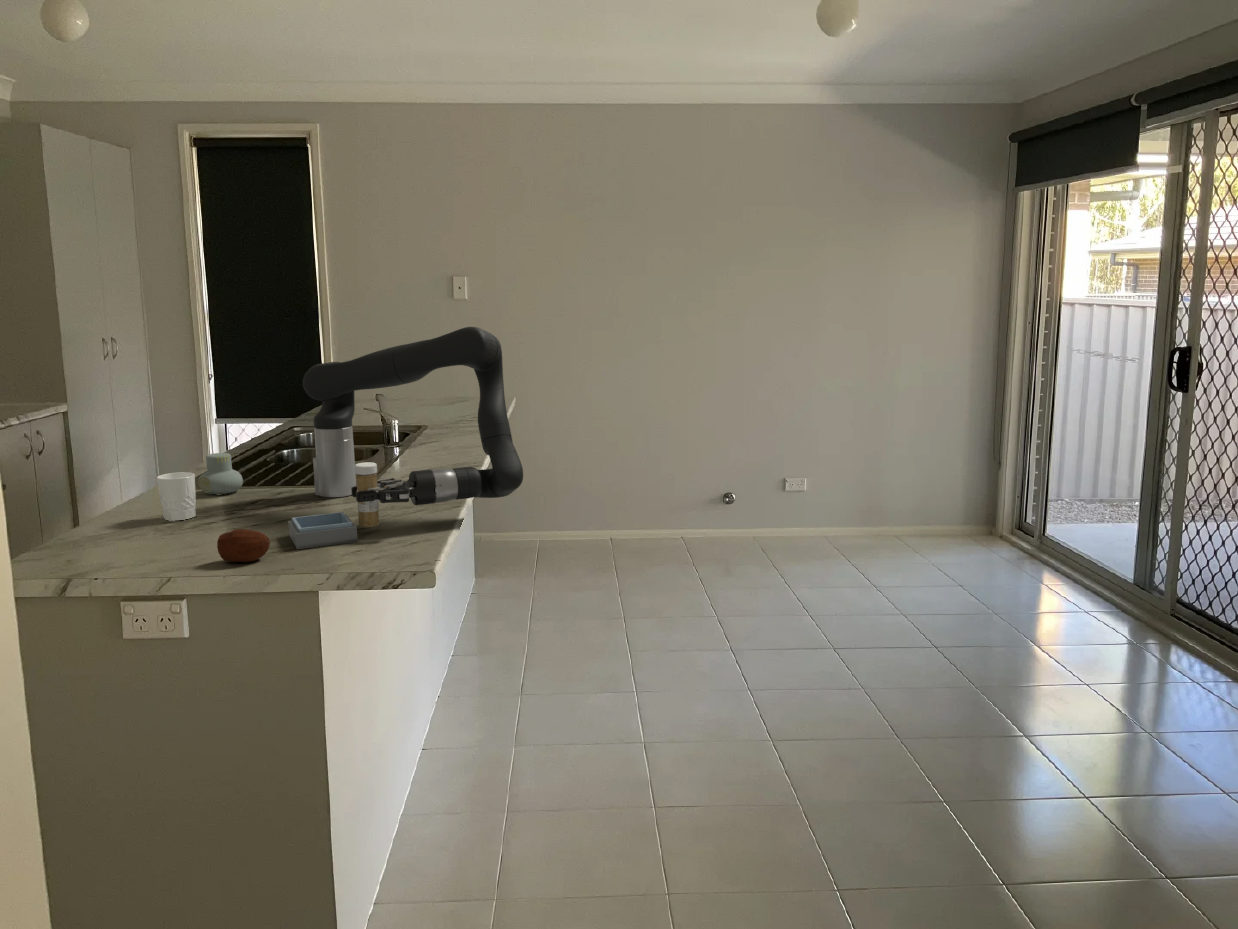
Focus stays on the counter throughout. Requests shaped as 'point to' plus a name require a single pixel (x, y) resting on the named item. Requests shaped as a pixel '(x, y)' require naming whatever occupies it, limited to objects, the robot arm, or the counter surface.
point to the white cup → (177, 495)
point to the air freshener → (220, 475)
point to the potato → (242, 545)
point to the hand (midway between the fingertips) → (354, 494)
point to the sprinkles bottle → (366, 481)
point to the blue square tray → (322, 530)
